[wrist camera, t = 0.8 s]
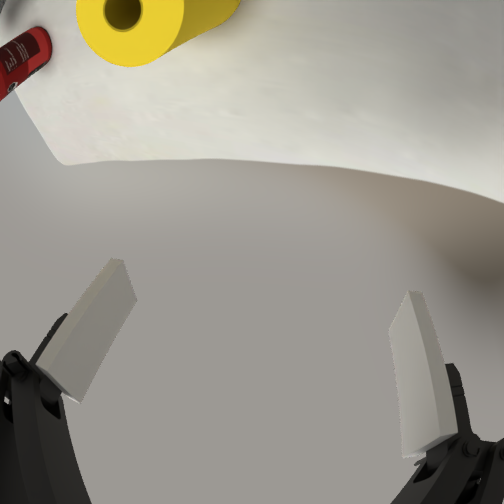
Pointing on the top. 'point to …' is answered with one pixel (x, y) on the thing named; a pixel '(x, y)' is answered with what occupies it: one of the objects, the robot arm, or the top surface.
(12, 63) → the canned food
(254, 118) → the top surface
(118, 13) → the yellow toilet paper roll
